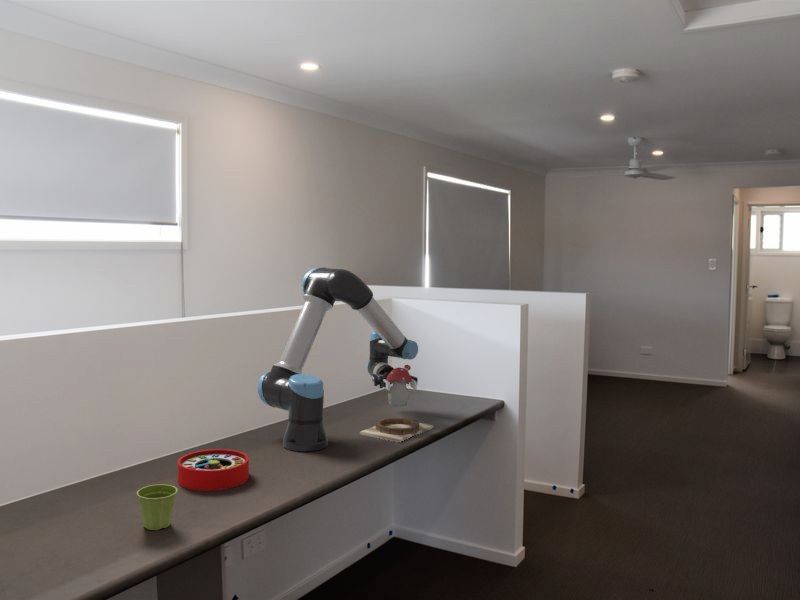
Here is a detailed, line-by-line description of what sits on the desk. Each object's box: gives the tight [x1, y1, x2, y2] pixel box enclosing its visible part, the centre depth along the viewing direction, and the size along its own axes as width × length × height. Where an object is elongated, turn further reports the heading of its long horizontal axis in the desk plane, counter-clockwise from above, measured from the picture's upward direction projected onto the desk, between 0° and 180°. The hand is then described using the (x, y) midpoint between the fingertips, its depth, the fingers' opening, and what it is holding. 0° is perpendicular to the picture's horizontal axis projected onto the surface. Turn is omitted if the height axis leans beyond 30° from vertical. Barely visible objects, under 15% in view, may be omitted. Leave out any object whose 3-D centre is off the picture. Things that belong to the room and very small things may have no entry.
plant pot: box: [136, 483, 179, 531], centre depth 170 cm, size 9×9×9 cm
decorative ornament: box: [386, 364, 412, 408], centre depth 257 cm, size 9×7×15 cm
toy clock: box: [177, 448, 250, 492], centre depth 204 cm, size 20×6×20 cm
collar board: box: [359, 417, 434, 443], centre depth 259 cm, size 24×17×3 cm
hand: (402, 386), depth 253 cm, fingers closed on decorative ornament, 9 cm apart
